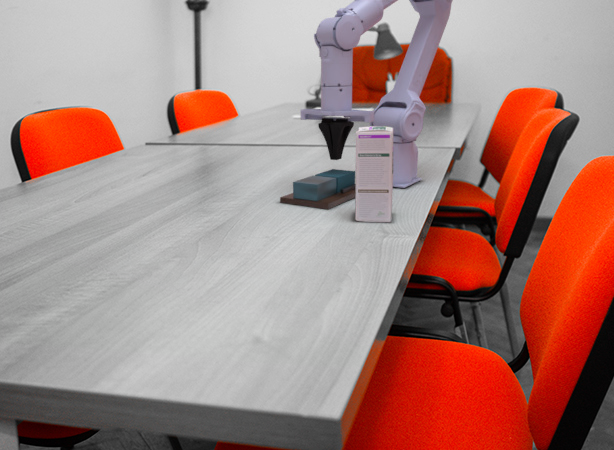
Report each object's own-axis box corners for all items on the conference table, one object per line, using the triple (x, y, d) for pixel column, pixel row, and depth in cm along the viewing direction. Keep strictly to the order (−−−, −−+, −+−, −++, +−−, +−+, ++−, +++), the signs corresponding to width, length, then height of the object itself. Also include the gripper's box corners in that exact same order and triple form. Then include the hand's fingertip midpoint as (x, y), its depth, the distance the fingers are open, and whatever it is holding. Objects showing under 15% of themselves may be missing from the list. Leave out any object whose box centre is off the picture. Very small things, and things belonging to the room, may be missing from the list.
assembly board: (323, 186, 117) (323, 167, 116) (368, 192, 111) (368, 171, 110) (280, 202, 104) (279, 181, 103) (328, 209, 99) (328, 186, 97)
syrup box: (391, 222, 90) (395, 129, 86) (353, 221, 91) (355, 129, 87) (391, 213, 95) (395, 125, 91) (355, 212, 96) (357, 125, 92)
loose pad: (332, 183, 114) (332, 169, 114) (355, 186, 112) (355, 171, 111) (314, 190, 109) (314, 174, 108) (338, 193, 106) (338, 177, 105)
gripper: (291, 86, 106) (292, 159, 110) (362, 87, 98) (361, 165, 102) (311, 84, 111) (311, 154, 115) (380, 85, 103) (377, 159, 107)
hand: (335, 159), depth 109 cm, fingers closed
